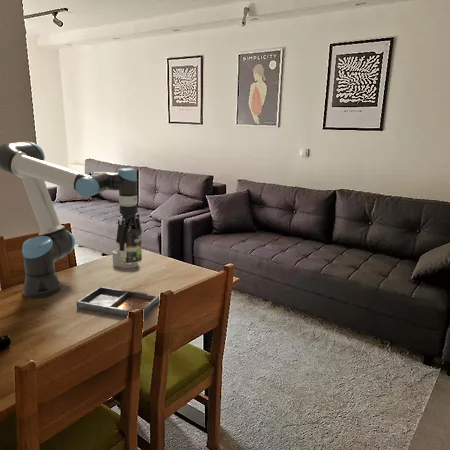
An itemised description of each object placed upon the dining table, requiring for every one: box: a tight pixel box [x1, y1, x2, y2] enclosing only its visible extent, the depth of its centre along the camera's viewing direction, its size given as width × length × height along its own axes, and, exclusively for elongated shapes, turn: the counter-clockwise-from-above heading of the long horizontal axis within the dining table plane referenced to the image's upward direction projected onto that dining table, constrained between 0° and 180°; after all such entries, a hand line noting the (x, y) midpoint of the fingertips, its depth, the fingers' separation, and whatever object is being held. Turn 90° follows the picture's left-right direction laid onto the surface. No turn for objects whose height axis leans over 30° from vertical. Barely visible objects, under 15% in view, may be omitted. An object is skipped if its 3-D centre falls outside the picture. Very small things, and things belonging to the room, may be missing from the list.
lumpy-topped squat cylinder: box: [111, 248, 139, 269], centre depth 201 cm, size 10×13×9 cm
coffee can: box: [116, 226, 143, 264], centre depth 171 cm, size 10×10×14 cm
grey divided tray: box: [76, 286, 160, 318], centre depth 157 cm, size 28×16×3 cm, turn 73°
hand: (130, 253), depth 172 cm, fingers closed on coffee can, 10 cm apart
